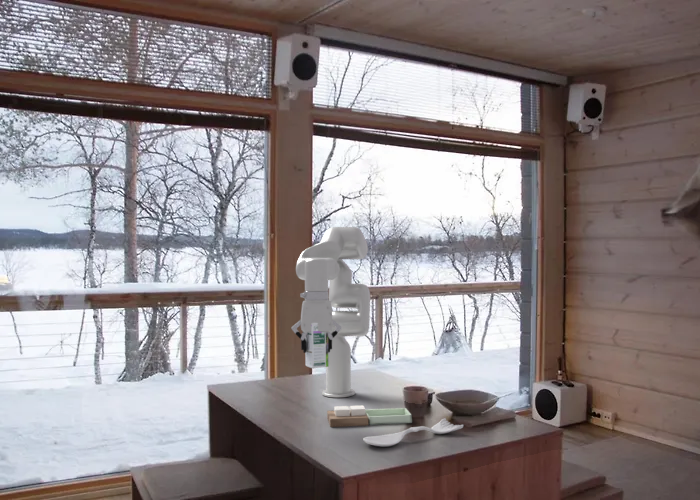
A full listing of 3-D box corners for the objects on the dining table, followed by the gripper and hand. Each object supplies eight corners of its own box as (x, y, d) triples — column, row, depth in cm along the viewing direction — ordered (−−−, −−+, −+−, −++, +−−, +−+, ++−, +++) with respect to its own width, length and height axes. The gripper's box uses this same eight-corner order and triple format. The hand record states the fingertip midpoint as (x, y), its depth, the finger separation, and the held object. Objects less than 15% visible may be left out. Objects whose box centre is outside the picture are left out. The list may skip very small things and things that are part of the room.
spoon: (464, 435, 188) (464, 423, 188) (374, 453, 172) (374, 441, 172) (445, 427, 196) (445, 416, 196) (357, 444, 180) (357, 432, 180)
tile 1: (334, 412, 204) (334, 406, 204) (348, 412, 205) (348, 405, 205) (335, 416, 200) (335, 410, 200) (349, 415, 200) (349, 409, 200)
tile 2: (349, 412, 205) (349, 405, 205) (363, 411, 205) (363, 405, 205) (351, 415, 200) (351, 409, 200) (365, 415, 201) (365, 408, 201)
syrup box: (312, 368, 199) (312, 322, 199) (304, 366, 204) (304, 321, 204) (328, 367, 202) (328, 321, 202) (320, 364, 207) (320, 320, 207)
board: (327, 418, 207) (327, 410, 207) (363, 416, 208) (363, 409, 208) (330, 427, 197) (330, 419, 197) (368, 425, 198) (368, 417, 198)
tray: (365, 417, 208) (365, 409, 208) (405, 415, 210) (405, 407, 209) (369, 424, 199) (369, 416, 199) (412, 423, 201) (411, 415, 201)
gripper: (290, 297, 198) (290, 354, 198) (344, 297, 201) (344, 353, 201) (288, 296, 206) (288, 350, 205) (341, 295, 208) (341, 349, 208)
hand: (316, 351), depth 203 cm, fingers closed on syrup box, 7 cm apart
